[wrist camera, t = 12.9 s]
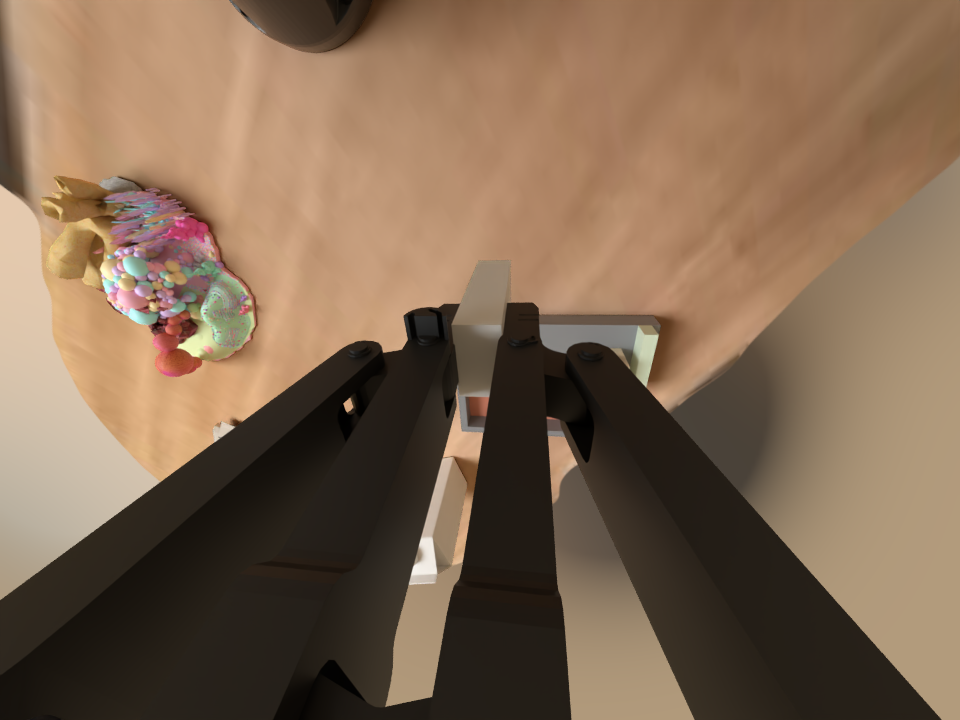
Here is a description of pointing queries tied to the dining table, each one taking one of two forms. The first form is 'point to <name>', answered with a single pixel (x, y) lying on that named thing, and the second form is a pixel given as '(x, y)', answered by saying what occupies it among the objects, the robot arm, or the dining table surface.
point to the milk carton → (440, 524)
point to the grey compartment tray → (567, 330)
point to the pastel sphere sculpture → (152, 269)
